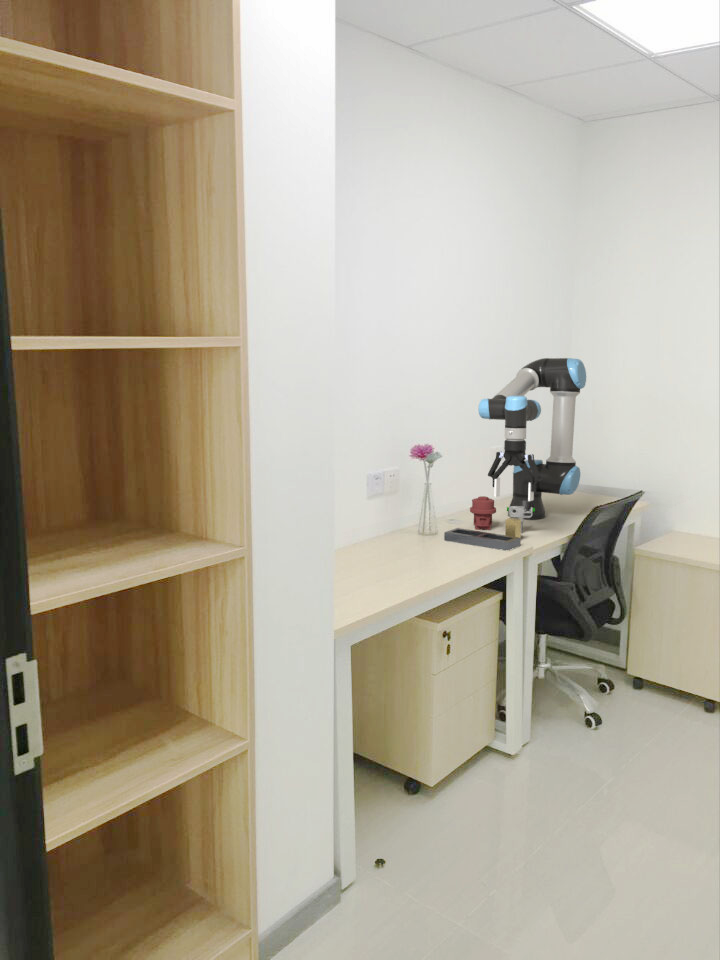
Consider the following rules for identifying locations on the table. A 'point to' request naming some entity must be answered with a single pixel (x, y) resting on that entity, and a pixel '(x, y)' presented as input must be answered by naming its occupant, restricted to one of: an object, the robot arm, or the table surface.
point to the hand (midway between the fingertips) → (513, 498)
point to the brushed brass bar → (513, 527)
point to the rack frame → (482, 539)
